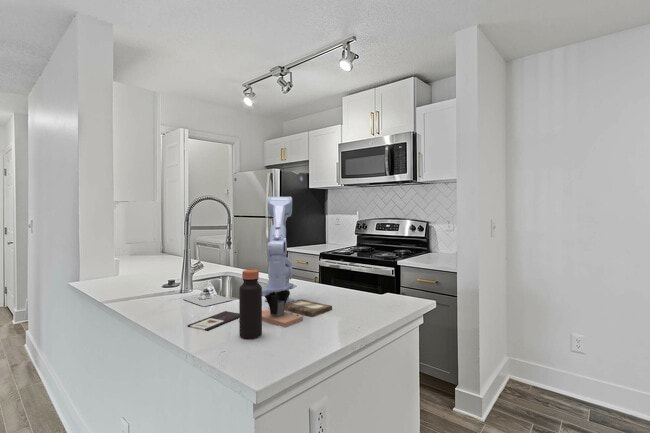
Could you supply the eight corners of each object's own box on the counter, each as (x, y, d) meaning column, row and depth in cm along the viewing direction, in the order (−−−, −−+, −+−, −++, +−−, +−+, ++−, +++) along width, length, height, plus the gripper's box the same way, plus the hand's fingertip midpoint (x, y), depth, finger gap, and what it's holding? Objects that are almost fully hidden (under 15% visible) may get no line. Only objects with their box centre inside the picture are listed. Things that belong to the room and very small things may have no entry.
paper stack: (180, 313, 135) (180, 311, 135) (151, 301, 152) (151, 299, 152) (233, 301, 153) (233, 299, 153) (202, 291, 169) (202, 290, 169)
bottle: (235, 335, 112) (235, 270, 111) (253, 330, 116) (253, 268, 116) (247, 341, 107) (247, 273, 106) (266, 335, 112) (266, 271, 111)
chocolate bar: (244, 314, 132) (207, 329, 115) (244, 316, 132) (207, 332, 115) (225, 311, 136) (187, 325, 119) (225, 313, 136) (187, 328, 120)
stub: (252, 318, 129) (252, 299, 129) (270, 312, 136) (270, 295, 136) (284, 327, 119) (284, 307, 119) (302, 320, 126) (302, 302, 126)
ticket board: (280, 309, 140) (280, 304, 140) (301, 302, 150) (301, 298, 149) (312, 317, 130) (312, 312, 130) (332, 309, 140) (332, 305, 140)
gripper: (270, 278, 119) (270, 319, 119) (299, 272, 130) (299, 309, 131) (255, 276, 123) (255, 315, 124) (285, 270, 135) (285, 306, 135)
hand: (277, 312), depth 127 cm, fingers closed on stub, 3 cm apart
